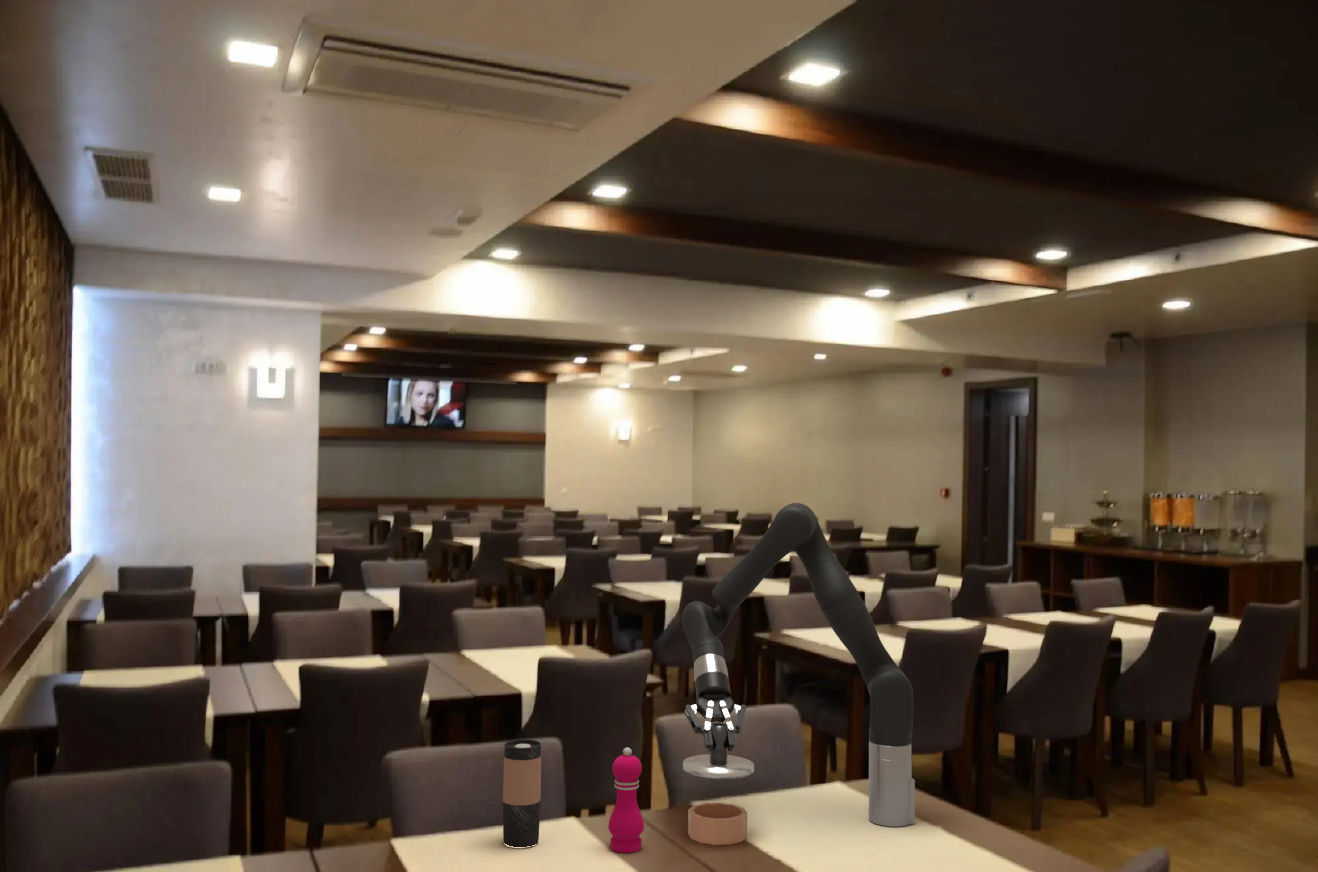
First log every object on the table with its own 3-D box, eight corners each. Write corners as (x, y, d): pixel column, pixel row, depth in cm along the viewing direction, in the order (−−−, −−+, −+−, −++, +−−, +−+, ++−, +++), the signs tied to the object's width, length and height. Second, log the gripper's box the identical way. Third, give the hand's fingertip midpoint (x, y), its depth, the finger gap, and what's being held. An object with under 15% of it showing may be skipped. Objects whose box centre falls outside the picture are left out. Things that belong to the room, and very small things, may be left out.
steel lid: (745, 759, 232) (746, 716, 232) (761, 778, 217) (762, 733, 217) (677, 759, 230) (678, 717, 230) (689, 779, 215) (690, 733, 215)
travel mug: (546, 840, 217) (548, 741, 218) (526, 851, 210) (528, 749, 211) (515, 834, 220) (517, 737, 221) (494, 845, 213) (496, 745, 214)
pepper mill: (645, 842, 216) (647, 743, 217) (641, 854, 209) (643, 752, 210) (610, 841, 217) (612, 742, 218) (605, 853, 210) (607, 751, 211)
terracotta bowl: (739, 825, 229) (739, 801, 229) (751, 843, 217) (751, 818, 217) (684, 826, 227) (684, 803, 227) (694, 845, 215) (694, 820, 215)
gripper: (682, 669, 231) (689, 739, 218) (745, 669, 232) (756, 739, 220) (678, 689, 236) (685, 759, 223) (740, 689, 237) (750, 758, 225)
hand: (720, 748), depth 221 cm, fingers closed on steel lid, 3 cm apart
